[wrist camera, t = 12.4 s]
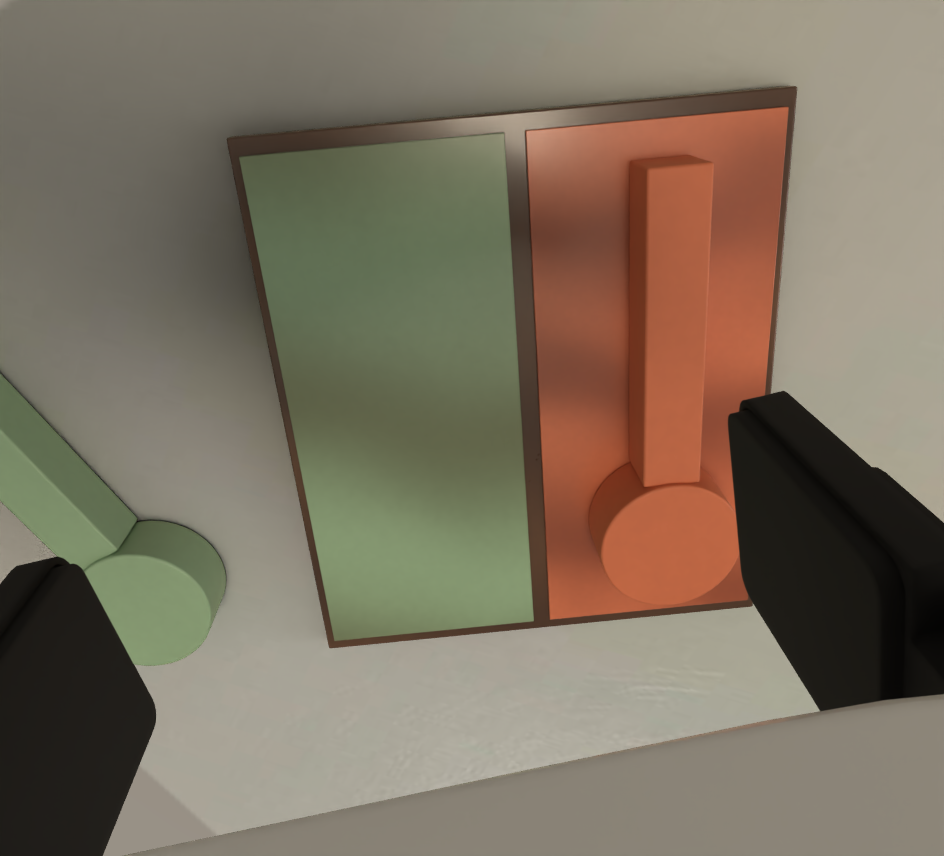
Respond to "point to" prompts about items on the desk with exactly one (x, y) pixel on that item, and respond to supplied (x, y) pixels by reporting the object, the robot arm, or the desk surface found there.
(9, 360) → the desk surface
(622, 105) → the board
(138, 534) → the spoon sage
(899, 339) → the desk surface
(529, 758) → the desk surface
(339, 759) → the desk surface
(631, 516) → the spoon terracotta
